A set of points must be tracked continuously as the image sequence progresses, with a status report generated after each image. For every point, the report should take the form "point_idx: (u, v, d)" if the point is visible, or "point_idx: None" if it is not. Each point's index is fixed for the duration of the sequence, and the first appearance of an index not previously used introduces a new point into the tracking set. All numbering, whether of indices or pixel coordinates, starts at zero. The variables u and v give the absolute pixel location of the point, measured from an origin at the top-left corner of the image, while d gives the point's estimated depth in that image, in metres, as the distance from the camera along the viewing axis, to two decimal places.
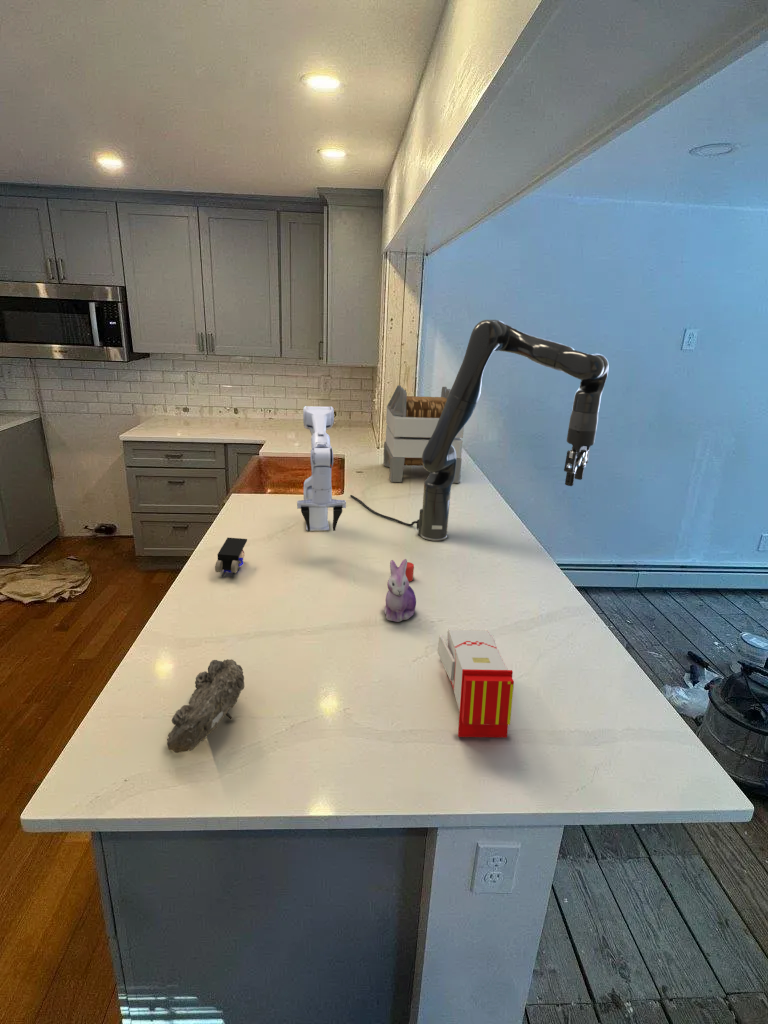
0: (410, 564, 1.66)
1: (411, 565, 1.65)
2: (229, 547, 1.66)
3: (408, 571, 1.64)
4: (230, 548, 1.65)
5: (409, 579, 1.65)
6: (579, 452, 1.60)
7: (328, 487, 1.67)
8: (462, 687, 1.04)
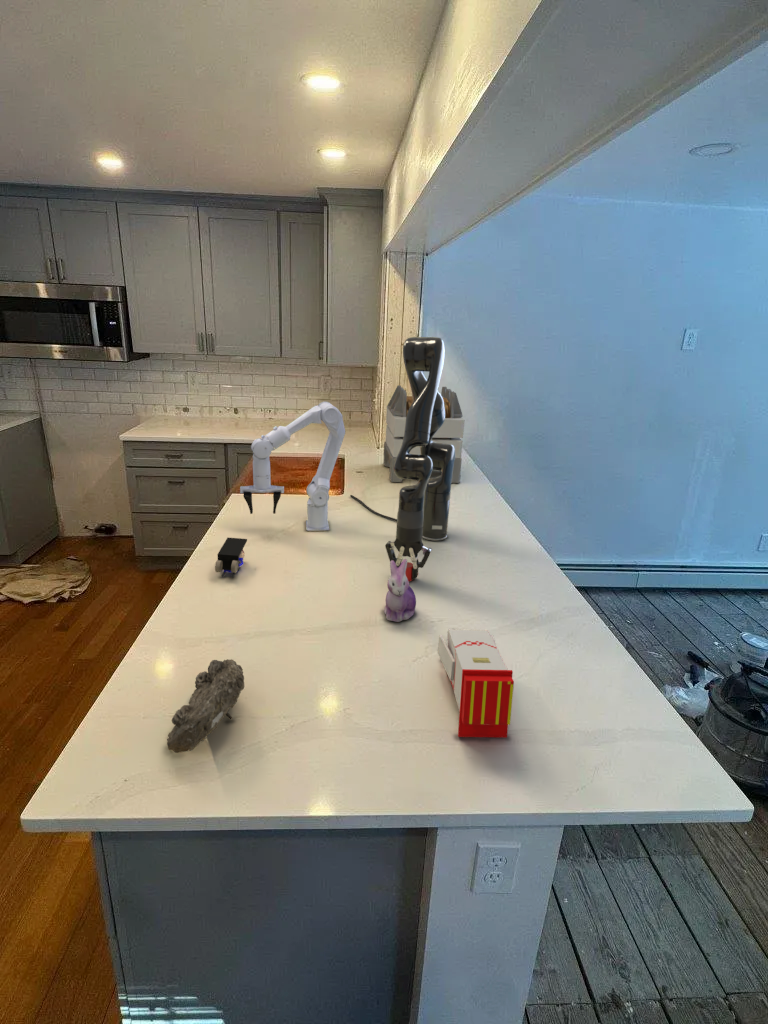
0: (410, 564, 1.66)
1: (411, 565, 1.65)
2: (229, 547, 1.66)
3: (408, 571, 1.64)
4: (230, 548, 1.65)
5: (409, 579, 1.65)
6: None
7: (256, 474, 1.88)
8: (462, 687, 1.04)
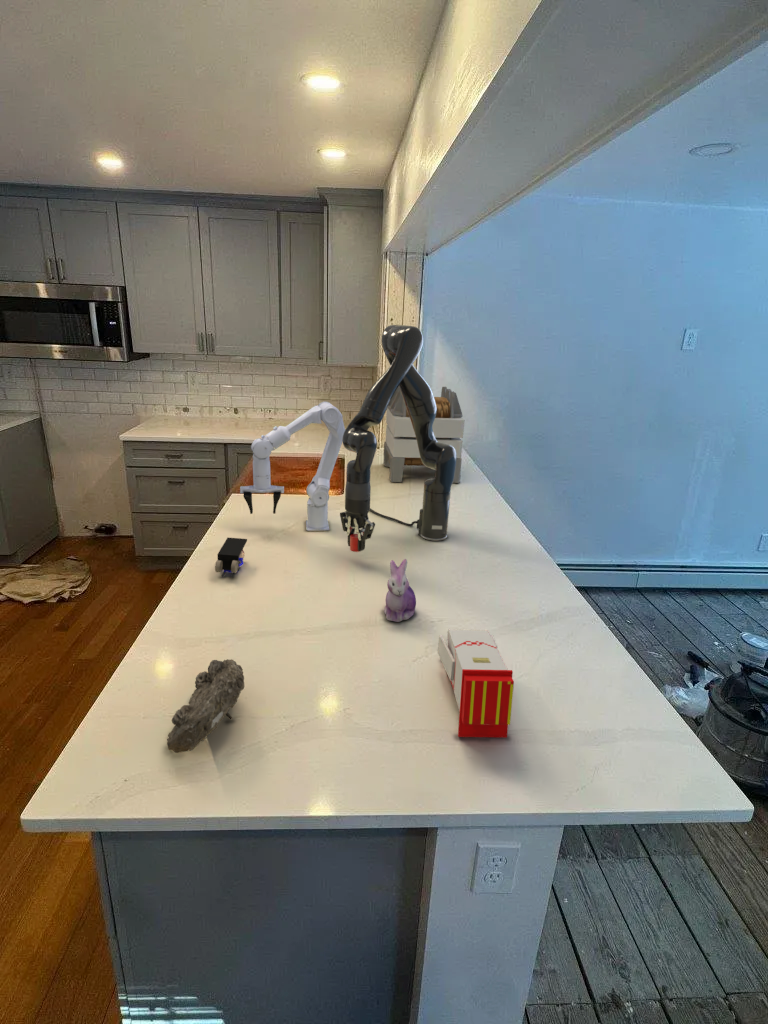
0: None
1: None
2: (229, 547, 1.66)
3: (354, 541, 1.72)
4: (230, 548, 1.65)
5: (355, 549, 1.73)
6: None
7: (256, 474, 1.88)
8: (462, 687, 1.04)
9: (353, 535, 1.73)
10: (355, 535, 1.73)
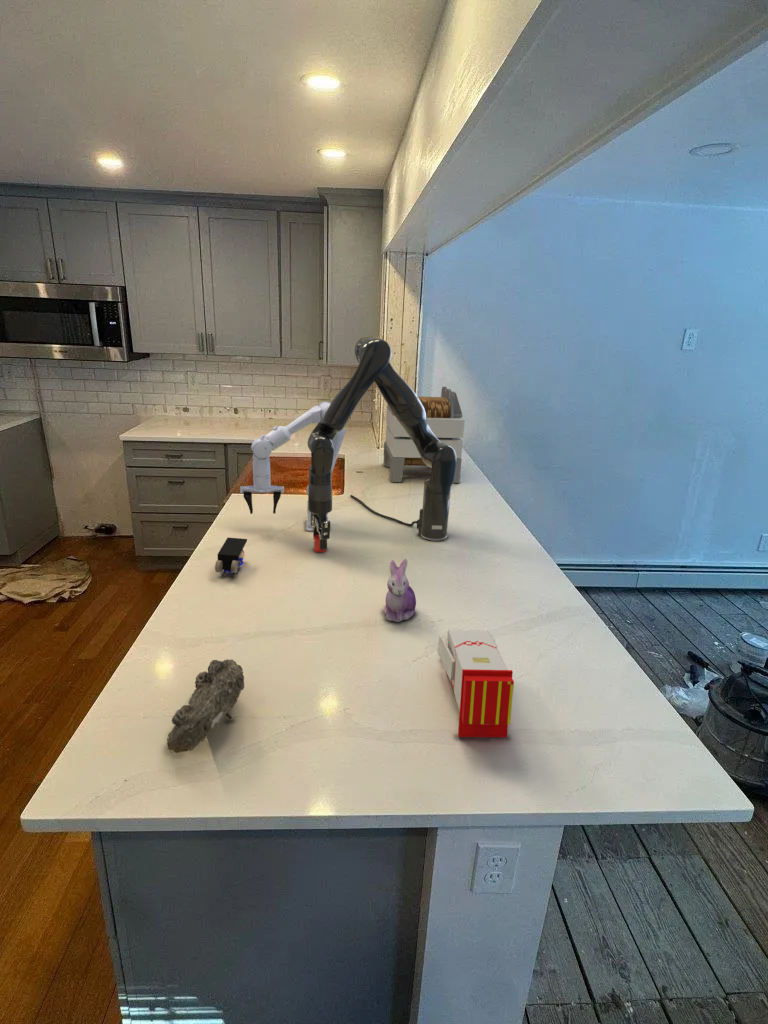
0: None
1: None
2: (229, 547, 1.66)
3: (315, 542, 1.81)
4: (230, 548, 1.65)
5: (316, 549, 1.82)
6: None
7: (256, 474, 1.88)
8: (462, 687, 1.04)
9: (317, 536, 1.83)
10: None
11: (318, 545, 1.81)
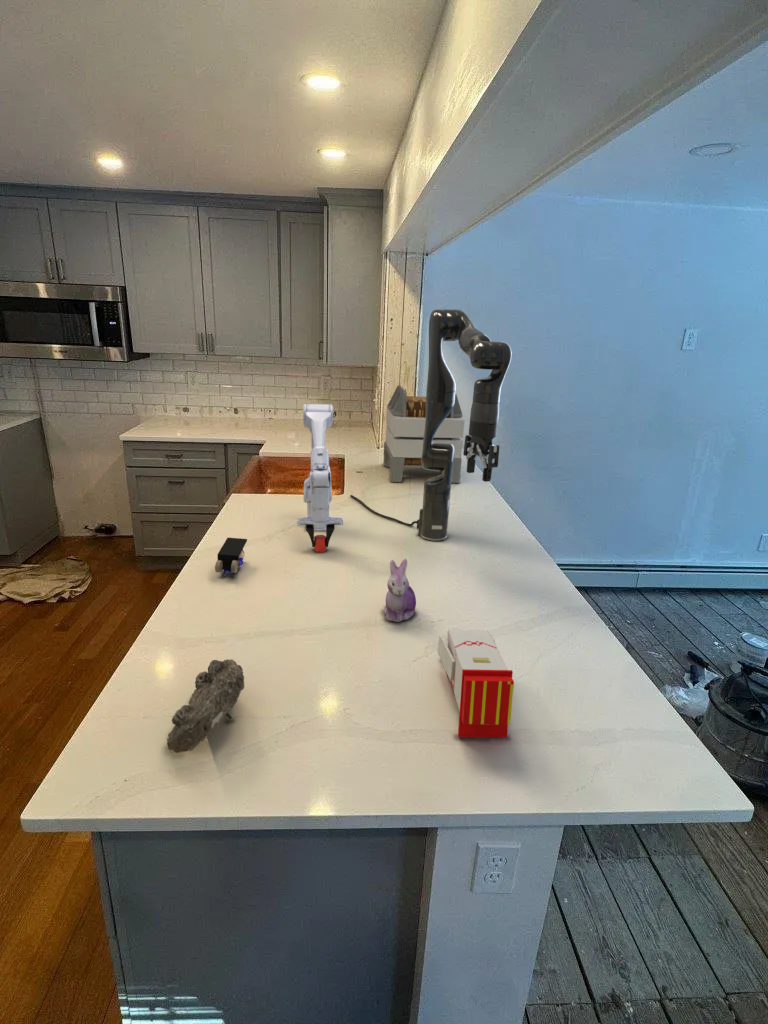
0: (322, 537, 1.82)
1: (321, 538, 1.81)
2: (229, 547, 1.66)
3: (316, 542, 1.81)
4: (230, 548, 1.65)
5: (317, 549, 1.82)
6: None
7: (326, 506, 1.77)
8: (462, 687, 1.04)
9: (317, 536, 1.83)
10: (319, 536, 1.83)
11: (318, 545, 1.81)
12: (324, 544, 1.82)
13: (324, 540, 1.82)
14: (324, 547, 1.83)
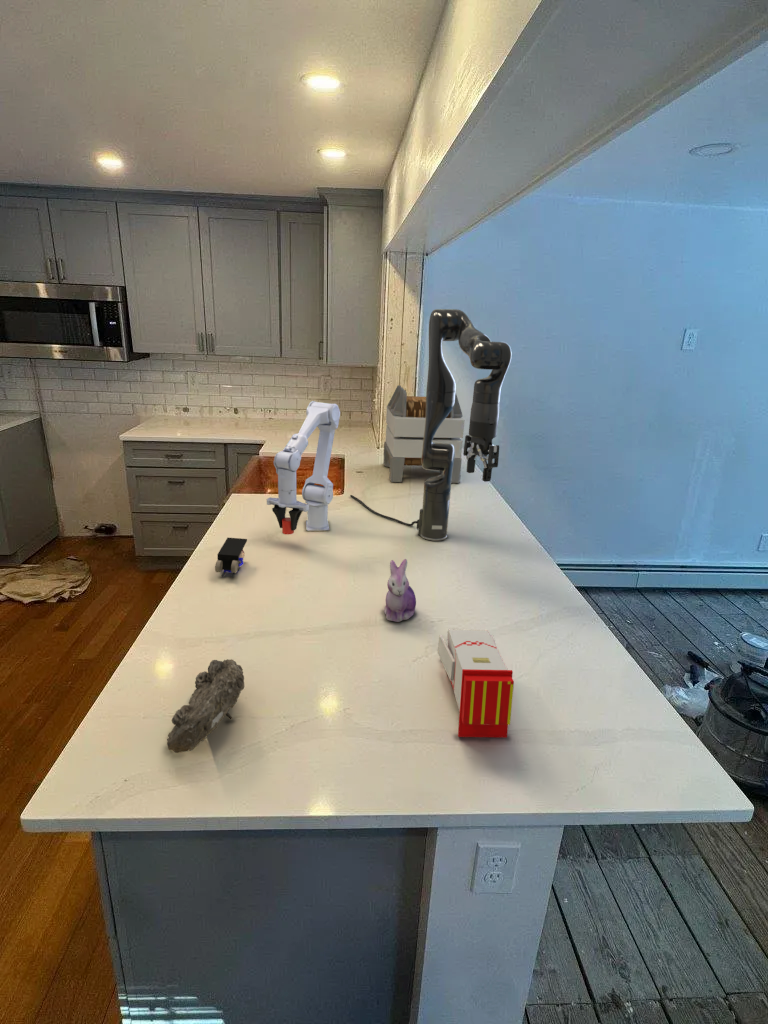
0: (288, 520, 1.83)
1: (286, 520, 1.83)
2: (229, 547, 1.66)
3: (282, 523, 1.84)
4: (230, 548, 1.65)
5: (282, 531, 1.84)
6: None
7: (288, 489, 1.78)
8: (462, 687, 1.04)
9: (286, 518, 1.85)
10: (288, 518, 1.84)
11: (283, 527, 1.83)
12: (289, 527, 1.83)
13: (289, 523, 1.83)
14: (289, 530, 1.83)
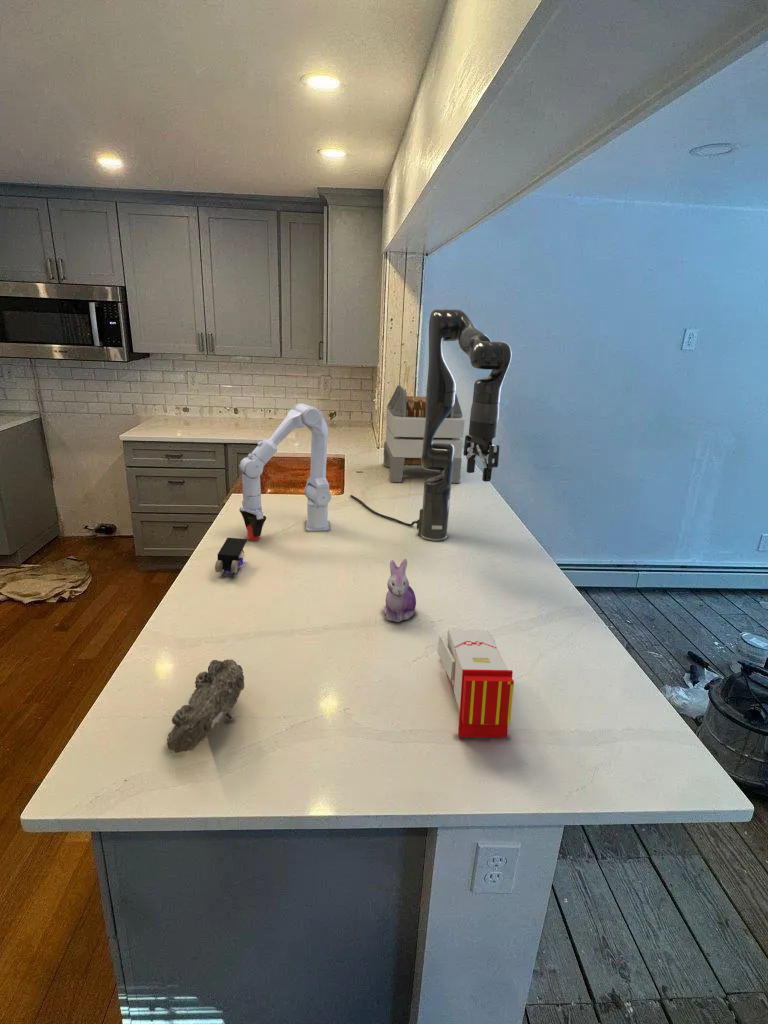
0: (251, 526, 1.88)
1: (249, 526, 1.88)
2: (229, 547, 1.66)
3: None
4: (230, 548, 1.65)
5: None
6: None
7: (247, 494, 1.82)
8: (462, 687, 1.04)
9: None
10: None
11: (247, 532, 1.89)
12: (250, 533, 1.88)
13: (250, 529, 1.88)
14: (250, 536, 1.88)
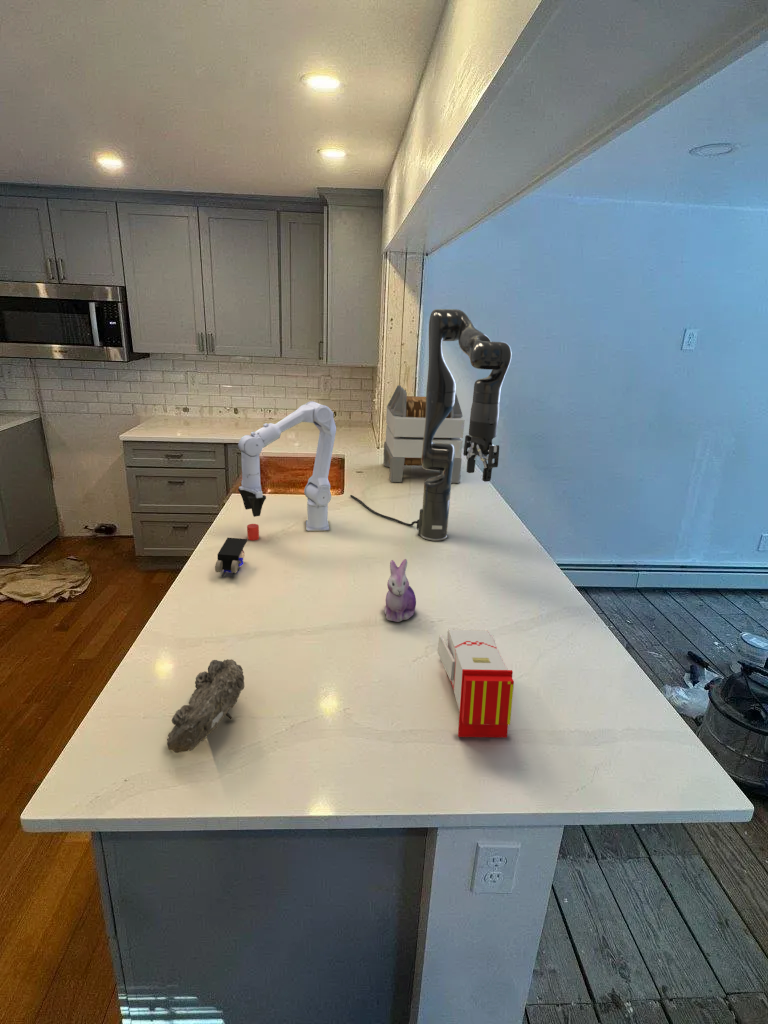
0: (251, 526, 1.88)
1: (249, 526, 1.88)
2: (229, 547, 1.66)
3: None
4: (230, 548, 1.65)
5: None
6: None
7: (246, 473, 1.80)
8: (462, 687, 1.04)
9: (253, 524, 1.90)
10: (253, 525, 1.89)
11: (247, 532, 1.89)
12: (250, 533, 1.88)
13: (250, 529, 1.88)
14: (250, 536, 1.88)
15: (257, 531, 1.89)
